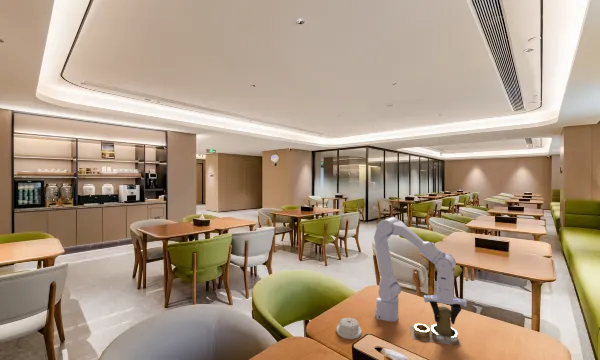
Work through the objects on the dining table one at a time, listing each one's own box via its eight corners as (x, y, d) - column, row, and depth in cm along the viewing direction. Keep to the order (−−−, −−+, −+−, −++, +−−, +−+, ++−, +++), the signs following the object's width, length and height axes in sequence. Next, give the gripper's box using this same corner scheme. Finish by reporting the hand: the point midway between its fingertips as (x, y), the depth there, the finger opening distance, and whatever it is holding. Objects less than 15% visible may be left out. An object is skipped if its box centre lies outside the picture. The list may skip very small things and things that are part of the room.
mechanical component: (366, 332, 115) (346, 322, 122) (366, 321, 115) (346, 312, 122) (352, 343, 108) (331, 332, 115) (352, 331, 108) (331, 321, 115)
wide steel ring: (433, 342, 107) (433, 335, 107) (429, 328, 116) (429, 322, 115) (460, 345, 104) (460, 339, 104) (453, 331, 113) (454, 325, 113)
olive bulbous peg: (455, 341, 107) (456, 312, 107) (438, 340, 108) (439, 311, 107) (448, 331, 113) (449, 304, 113) (432, 331, 114) (433, 304, 113)
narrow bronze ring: (415, 337, 110) (415, 330, 110) (413, 328, 115) (413, 322, 115) (430, 339, 109) (430, 332, 108) (428, 330, 114) (428, 324, 114)
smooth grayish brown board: (412, 341, 109) (412, 339, 109) (409, 328, 117) (409, 326, 117) (461, 348, 104) (461, 346, 104) (455, 334, 113) (455, 332, 113)
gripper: (463, 284, 111) (462, 318, 112) (422, 281, 115) (422, 314, 115) (469, 292, 104) (468, 328, 105) (426, 288, 108) (425, 323, 109)
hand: (444, 321), depth 110 cm, fingers closed on olive bulbous peg, 5 cm apart
